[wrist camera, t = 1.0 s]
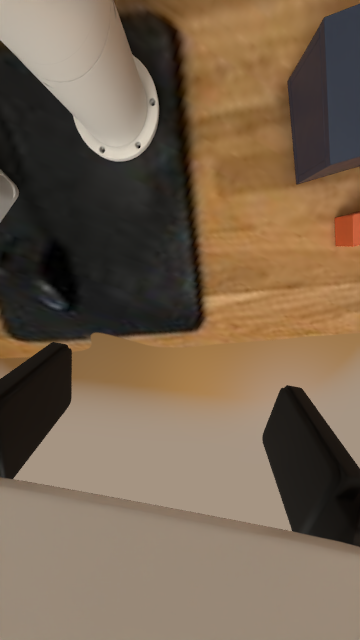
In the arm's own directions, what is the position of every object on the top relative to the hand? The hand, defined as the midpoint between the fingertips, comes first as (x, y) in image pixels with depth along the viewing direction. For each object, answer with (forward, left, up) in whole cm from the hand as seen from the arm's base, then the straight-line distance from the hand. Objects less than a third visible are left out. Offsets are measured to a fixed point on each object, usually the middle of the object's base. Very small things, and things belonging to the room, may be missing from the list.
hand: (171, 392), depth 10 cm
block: (+8, +26, -32) cm, 42 cm away
